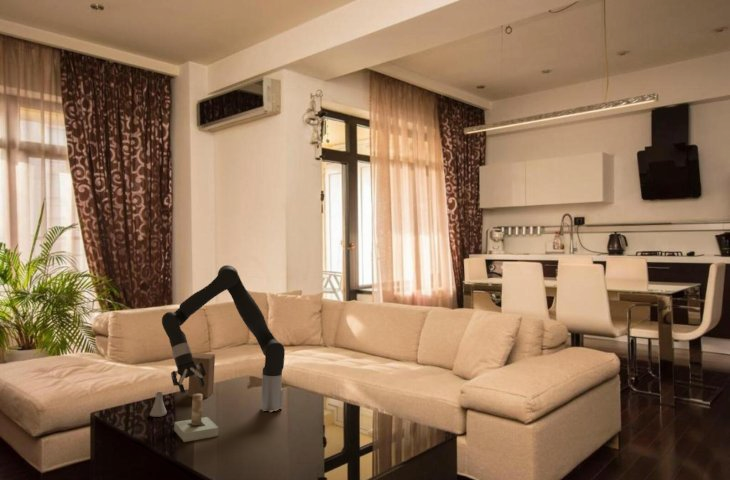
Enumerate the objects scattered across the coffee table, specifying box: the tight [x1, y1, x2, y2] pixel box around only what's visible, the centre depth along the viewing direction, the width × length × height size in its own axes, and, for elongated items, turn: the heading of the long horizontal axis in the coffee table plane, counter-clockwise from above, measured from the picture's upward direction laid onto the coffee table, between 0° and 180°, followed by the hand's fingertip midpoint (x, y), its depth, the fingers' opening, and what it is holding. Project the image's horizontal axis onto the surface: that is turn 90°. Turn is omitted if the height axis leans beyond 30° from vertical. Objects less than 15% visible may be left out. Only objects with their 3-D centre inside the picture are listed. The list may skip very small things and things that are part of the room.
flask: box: [149, 391, 168, 418], centre depth 247 cm, size 7×7×10 cm
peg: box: [190, 394, 204, 428], centre depth 227 cm, size 4×4×16 cm
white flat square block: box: [173, 416, 220, 443], centre depth 227 cm, size 14×14×4 cm
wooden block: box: [187, 352, 216, 399], centre depth 278 cm, size 10×10×20 cm
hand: (193, 390), depth 238 cm, fingers open, 8 cm apart
